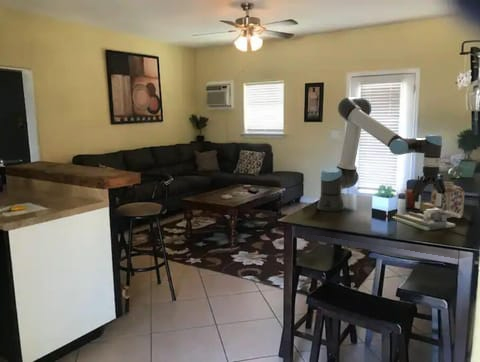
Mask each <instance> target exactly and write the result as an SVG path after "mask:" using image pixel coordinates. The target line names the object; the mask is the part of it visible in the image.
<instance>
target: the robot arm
mask: <svg viewBox="0 0 480 362" xmlns="http://www.w3.org/2000/svg"><path fill="white" fill-rule="evenodd" d="M337 112H338V114H339V115H340V117H341V118H342V119H344V121H345V123H346V125H345V126H346V127H345V133H344V139H343V143H342V144H343V145H342V149H341V154H340V155H341V156H340V161H339V163H337V165H336V167H330V168H325V169H323V170H322V171H321V174H320V196H319V200H318V203H317V210H320V211H323V212H341V211H343V210H344V209H345V208H344V207H345V204H344V202H343V198H342V190H344V189H349V188H352V187H354V186H356V184H357V183H358V181H359V173H358V170H357V169H358V167H357V166H356V160H357V159H356V158H357V154H358V148H359V143H360V138H361V132H362V130H364V132H366V133H367V134H369V135H371V136H372V137H373V138H374V139H376V140H378V141H379V142H381V143H382V144H383V145H384V146H386V147H388V148H389V151H390V153H392V154H393V155H396V156H401V155H406V154H412V153H415V154H423V163H422V164H423V166H422V174H423V175H418V176H417V181H416V182H415V184H414V187H413V189H412V194H414V195H415V200H414V201H415V208H417V209H421V200H422V196H421V194H422V192H423V191H424V190H425V188H426V187H427V186H429V185H433V187H435V188H436V190H437V192H438V193H436V203H435V205H436V206H441V200H442V194H444V193H445V192H446V188H445V185H444V182H445V181H444V179H443V178H444V177H443V176H444V175H443V174H440V164H441V155H442V146H443V136H442V135H440V134H426V135H425V138H422V137H421V138H419V137H402V136H400V135H399V134H397V132H395V131H393V130H391V129H390V128H389V127H388V126H385V125H384V124H382V123H381V122H380V121H378V120H376V119H375V118H373V117H372V116H370V115H371V113H372V104H371V102H370V101H369V100H368V99H366V98H364V97H360V96H359V97H358V96H357V97H351V96H349V97H345V98H343V99H342V100H340V102H339V103H338V106H337ZM419 195H420V196H419Z"/></svg>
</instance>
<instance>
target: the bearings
mask: <svg viewBox="0 0 480 362" xmlns="http://www.w3.org/2000/svg"><path fill="white" fill-rule="evenodd" d="M438 215H439V216H438ZM430 218H433V219H439V220H442V221H445V222H448V221H447V220H448V218H447V215H446V214H439V212H437V213H431V216H430Z"/></svg>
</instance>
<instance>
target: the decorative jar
mask: <svg viewBox="0 0 480 362" xmlns="http://www.w3.org/2000/svg"><path fill="white" fill-rule="evenodd" d="M443 182H444V185H445V188H446V192H445V193H444V194H442V200H441V206H436V208H440V209H444V210H447V211H451V212H455V213H459V214H461V215H462V216H463V214H464V208H465V207H464V205H465V190H464V189H463V188H462V187H461V186H459V185H456V184H454V182H453V181H443ZM433 187H434V186H433ZM436 193H438V192H437V190H436V188H435V187H434V188H432V189H431V195H430V204H434V205H435V203H436ZM439 214H443V213H439ZM438 217H439V215H438ZM449 218H455V217H454V216H450V215H447V219H449Z"/></svg>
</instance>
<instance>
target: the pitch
mask: <svg viewBox="0 0 480 362" xmlns="http://www.w3.org/2000/svg"><path fill="white" fill-rule="evenodd" d="M423 216H424V213H423V214H422V213H418V212H417V213H415V212H412V211H408V214H399V213H396V212H395V215H394V216H391V219H392V218H393V219H392V220H394V219H395V221H397V222H400V223H403V224H406V225H408V226H411V225H412V227H415V228H417V229H421V230H423V231H431V230H430V228H429V227H426V226H423V225H420V221H423ZM430 220H432V221H434V220H435V219H433V218H430ZM438 220H439V218H438ZM445 227H446V228H445ZM454 227H456V223H453V222H449V221H446V226H444V228H443V229H448V228H454Z"/></svg>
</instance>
